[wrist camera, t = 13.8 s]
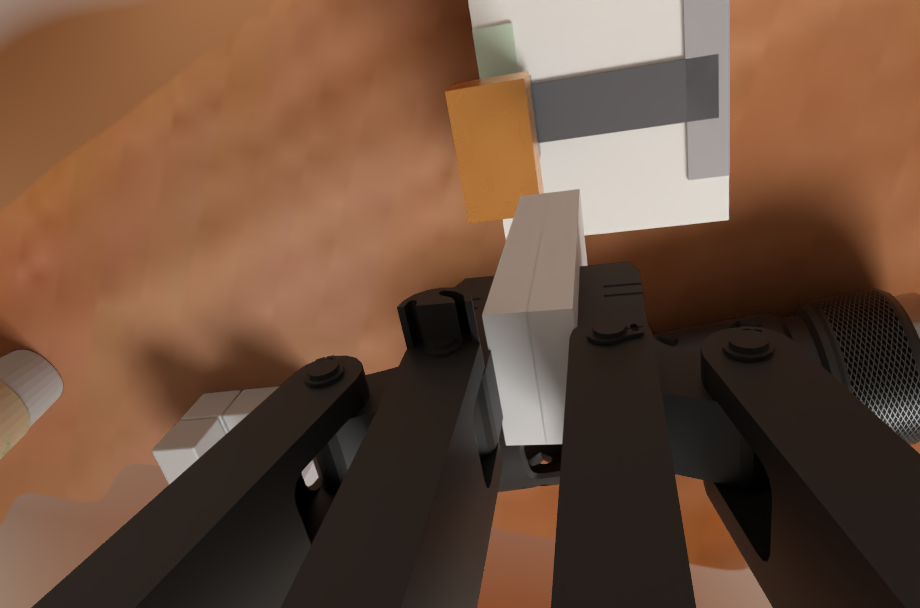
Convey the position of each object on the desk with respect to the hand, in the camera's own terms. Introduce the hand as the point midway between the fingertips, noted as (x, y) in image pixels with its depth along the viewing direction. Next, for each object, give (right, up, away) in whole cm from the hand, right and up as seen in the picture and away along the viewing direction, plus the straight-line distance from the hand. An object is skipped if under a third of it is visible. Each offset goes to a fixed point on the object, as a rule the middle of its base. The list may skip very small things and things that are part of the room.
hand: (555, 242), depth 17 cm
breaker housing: (+6, +12, +23) cm, 27 cm away
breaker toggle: (0, +8, +17) cm, 18 cm away
